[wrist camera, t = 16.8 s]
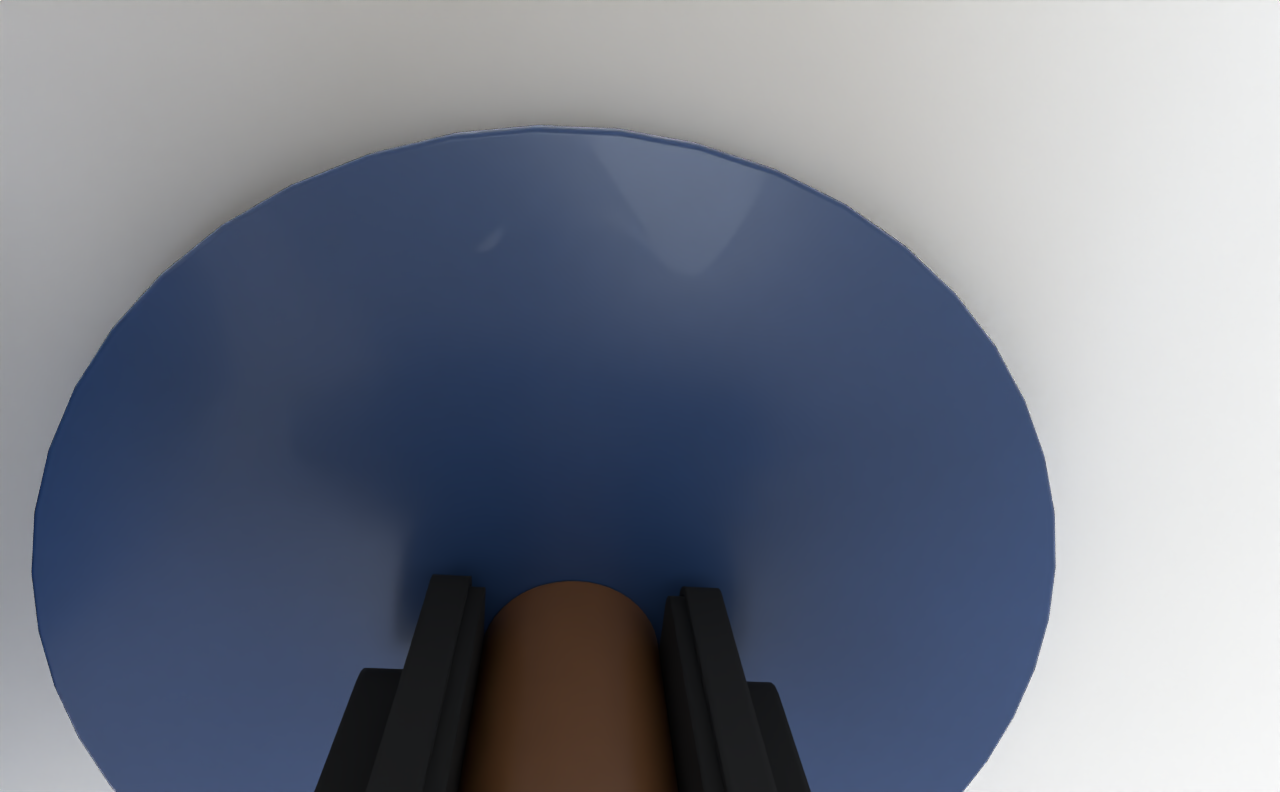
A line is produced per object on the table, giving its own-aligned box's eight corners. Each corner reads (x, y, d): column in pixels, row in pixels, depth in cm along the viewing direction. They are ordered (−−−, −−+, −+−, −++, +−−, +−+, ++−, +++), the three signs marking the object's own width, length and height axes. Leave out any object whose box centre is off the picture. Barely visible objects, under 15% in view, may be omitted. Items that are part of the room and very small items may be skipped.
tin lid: (-154, 404, 11) (-884, 717, 5) (860, -86, 9) (1229, -319, 4) (402, 1006, 16) (314, 1460, 11) (1094, 746, 15) (1384, 1114, 9)
